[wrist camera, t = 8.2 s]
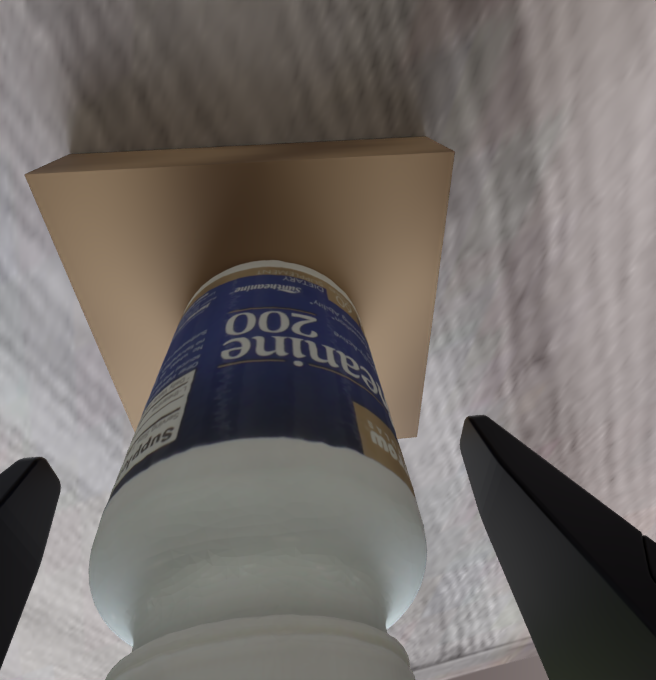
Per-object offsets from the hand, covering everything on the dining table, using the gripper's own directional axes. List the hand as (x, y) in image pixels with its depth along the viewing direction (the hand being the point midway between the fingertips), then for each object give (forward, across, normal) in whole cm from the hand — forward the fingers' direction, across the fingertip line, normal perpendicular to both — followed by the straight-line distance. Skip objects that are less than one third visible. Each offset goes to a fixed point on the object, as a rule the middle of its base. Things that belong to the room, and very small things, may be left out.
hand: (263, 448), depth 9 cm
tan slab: (+7, 0, 0) cm, 7 cm away
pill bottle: (+4, 0, 0) cm, 5 cm away
